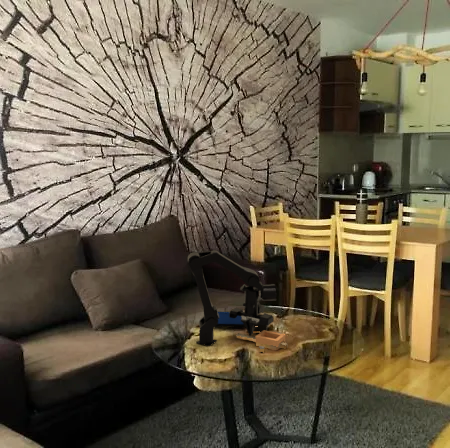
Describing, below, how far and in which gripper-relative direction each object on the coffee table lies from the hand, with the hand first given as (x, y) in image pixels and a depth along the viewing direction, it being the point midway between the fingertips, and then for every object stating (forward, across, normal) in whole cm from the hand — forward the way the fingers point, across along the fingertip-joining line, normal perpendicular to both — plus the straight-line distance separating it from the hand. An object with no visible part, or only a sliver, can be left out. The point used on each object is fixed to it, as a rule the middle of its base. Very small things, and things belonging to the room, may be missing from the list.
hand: (250, 335), depth 238 cm
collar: (+3, -9, 0) cm, 10 cm away
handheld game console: (+3, +17, -12) cm, 21 cm away
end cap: (+3, +2, -13) cm, 14 cm away
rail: (+2, -5, 0) cm, 6 cm away
